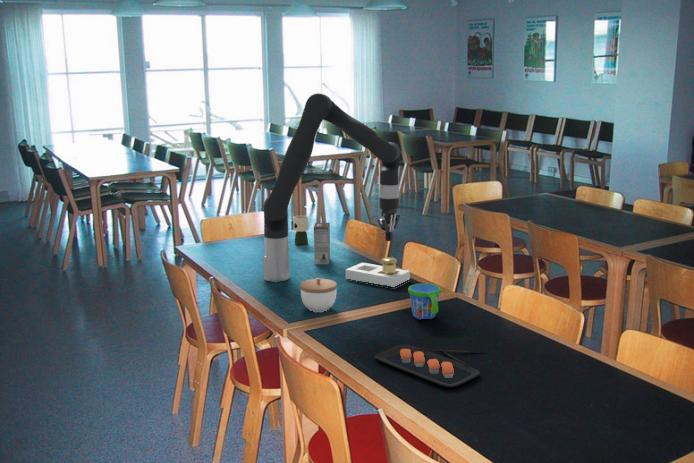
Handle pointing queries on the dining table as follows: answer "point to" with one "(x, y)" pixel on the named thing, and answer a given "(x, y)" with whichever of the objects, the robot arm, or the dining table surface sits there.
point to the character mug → (300, 229)
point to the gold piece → (389, 265)
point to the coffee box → (322, 243)
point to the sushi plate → (432, 363)
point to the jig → (376, 275)
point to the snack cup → (424, 300)
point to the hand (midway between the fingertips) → (388, 240)
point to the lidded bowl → (318, 294)
